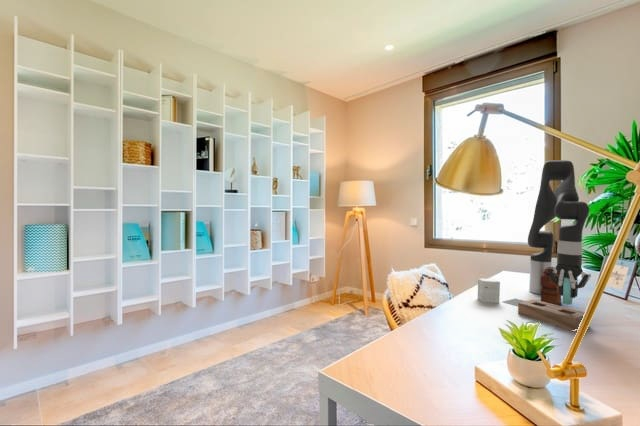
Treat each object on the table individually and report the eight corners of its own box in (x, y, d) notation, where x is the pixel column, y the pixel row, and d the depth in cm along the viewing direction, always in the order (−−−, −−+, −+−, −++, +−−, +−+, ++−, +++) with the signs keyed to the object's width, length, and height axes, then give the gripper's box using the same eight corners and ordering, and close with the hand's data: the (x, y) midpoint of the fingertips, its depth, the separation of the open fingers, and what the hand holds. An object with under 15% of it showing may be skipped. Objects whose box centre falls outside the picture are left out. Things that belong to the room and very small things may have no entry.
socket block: (533, 310, 139) (533, 299, 139) (588, 326, 121) (589, 313, 121) (517, 314, 133) (518, 302, 133) (574, 331, 115) (575, 318, 115)
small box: (494, 300, 153) (494, 278, 153) (499, 303, 147) (500, 281, 147) (477, 299, 154) (477, 278, 153) (481, 302, 148) (482, 280, 148)
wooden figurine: (554, 309, 141) (556, 269, 140) (538, 305, 146) (539, 267, 145) (564, 304, 147) (565, 267, 147) (548, 301, 153) (549, 264, 152)
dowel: (564, 301, 124) (565, 276, 124) (573, 303, 122) (574, 278, 122) (561, 302, 123) (562, 277, 123) (570, 304, 120) (571, 279, 120)
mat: (515, 299, 155) (515, 298, 155) (542, 306, 145) (542, 305, 145) (501, 302, 149) (501, 301, 149) (528, 310, 139) (528, 309, 139)
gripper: (596, 254, 118) (594, 300, 118) (553, 249, 130) (552, 291, 130) (587, 256, 114) (585, 302, 114) (544, 250, 126) (542, 293, 127)
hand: (567, 296), depth 122 cm, fingers closed on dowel, 3 cm apart
